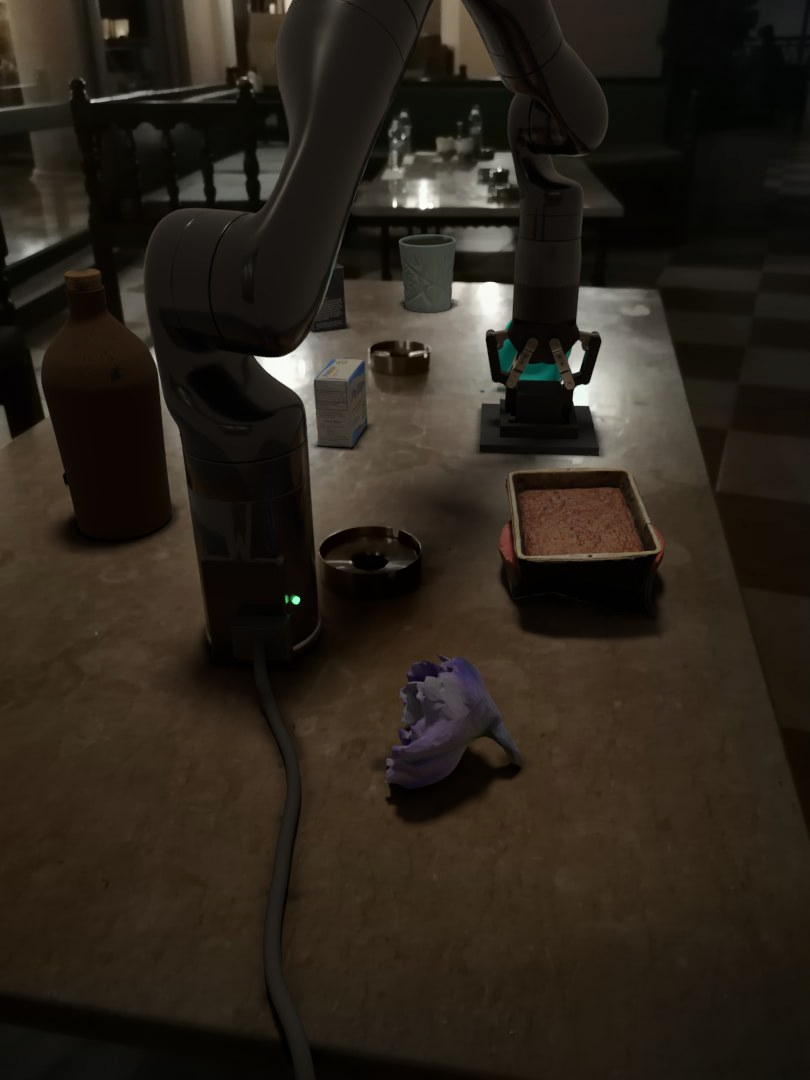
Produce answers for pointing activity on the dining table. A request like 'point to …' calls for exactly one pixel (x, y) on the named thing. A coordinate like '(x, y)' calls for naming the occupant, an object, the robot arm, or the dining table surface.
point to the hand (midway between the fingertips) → (537, 414)
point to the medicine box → (341, 402)
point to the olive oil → (106, 417)
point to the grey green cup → (427, 271)
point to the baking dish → (581, 538)
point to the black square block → (539, 402)
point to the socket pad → (537, 433)
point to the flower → (443, 722)
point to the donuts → (531, 370)
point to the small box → (333, 304)
